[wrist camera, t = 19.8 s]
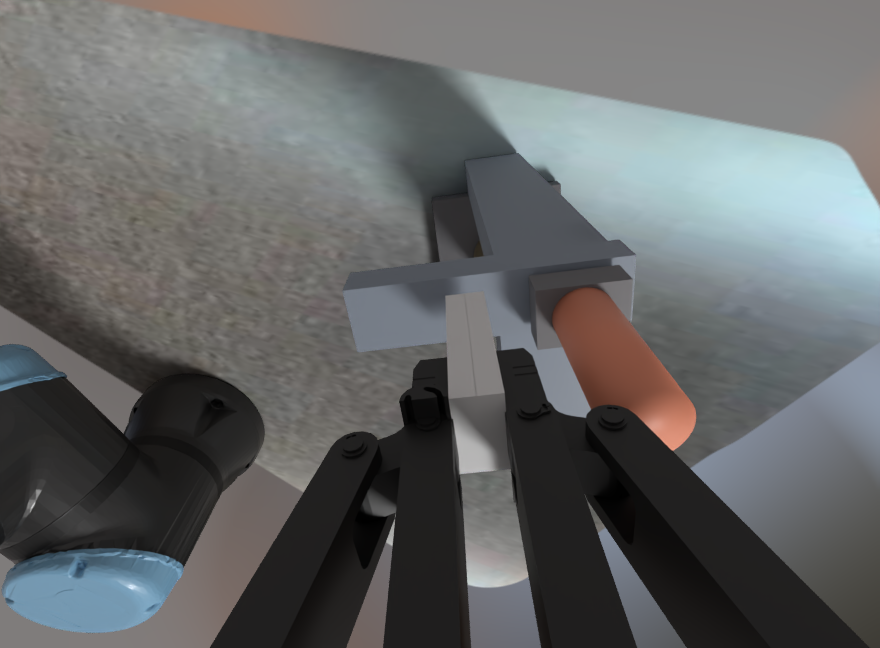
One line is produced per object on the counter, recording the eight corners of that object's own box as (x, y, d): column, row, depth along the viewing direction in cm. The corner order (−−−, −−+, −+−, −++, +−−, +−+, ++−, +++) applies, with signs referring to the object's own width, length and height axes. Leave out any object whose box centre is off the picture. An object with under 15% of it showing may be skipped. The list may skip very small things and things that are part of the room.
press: (419, 311, 51) (402, 533, 27) (395, 169, 44) (342, 290, 20) (558, 295, 50) (674, 508, 26) (556, 148, 43) (713, 245, 19)
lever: (531, 331, 20) (580, 468, 13) (528, 275, 19) (581, 393, 12) (616, 322, 20) (712, 455, 13) (619, 264, 19) (726, 377, 12)
